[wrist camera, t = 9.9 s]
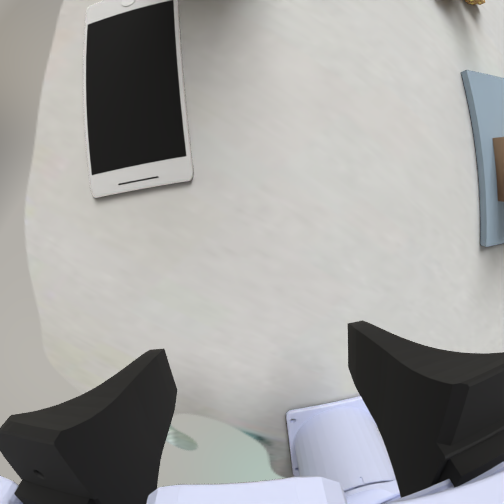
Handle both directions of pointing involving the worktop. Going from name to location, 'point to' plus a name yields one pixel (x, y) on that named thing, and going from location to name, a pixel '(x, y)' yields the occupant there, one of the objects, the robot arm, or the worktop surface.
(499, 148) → the walnut cube
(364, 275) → the worktop surface
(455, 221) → the worktop surface
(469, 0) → the cream long lumpy piece
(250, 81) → the worktop surface
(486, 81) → the slate board
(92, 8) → the smartphone
